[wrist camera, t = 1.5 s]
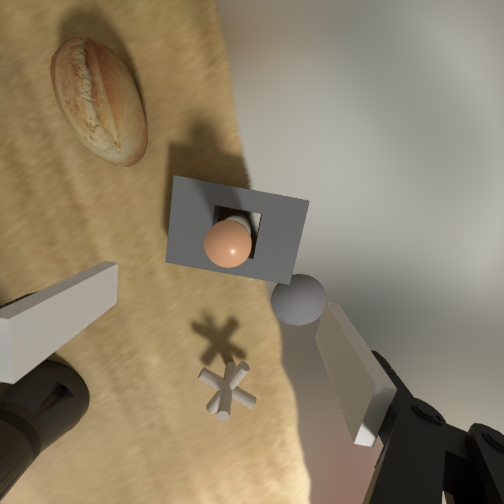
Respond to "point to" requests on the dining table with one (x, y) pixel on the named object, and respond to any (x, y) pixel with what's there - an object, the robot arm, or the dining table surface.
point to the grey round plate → (299, 300)
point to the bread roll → (99, 101)
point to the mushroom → (229, 241)
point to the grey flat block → (215, 195)
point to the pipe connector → (227, 389)
